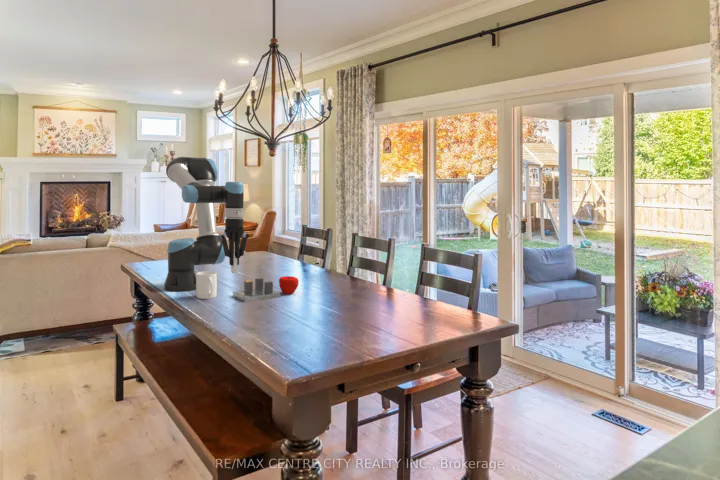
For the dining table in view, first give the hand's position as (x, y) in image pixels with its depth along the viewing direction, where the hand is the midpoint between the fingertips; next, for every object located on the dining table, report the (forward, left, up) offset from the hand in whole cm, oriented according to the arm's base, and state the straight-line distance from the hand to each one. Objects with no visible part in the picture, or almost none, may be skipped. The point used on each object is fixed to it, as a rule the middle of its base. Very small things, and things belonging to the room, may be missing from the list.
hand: (234, 272), depth 210 cm
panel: (0, +11, -12) cm, 16 cm away
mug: (-9, -8, -12) cm, 17 cm away
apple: (+1, +26, -12) cm, 29 cm away
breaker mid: (0, +7, -10) cm, 12 cm away
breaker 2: (+4, +14, -10) cm, 18 cm away
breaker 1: (-5, +14, -10) cm, 18 cm away
